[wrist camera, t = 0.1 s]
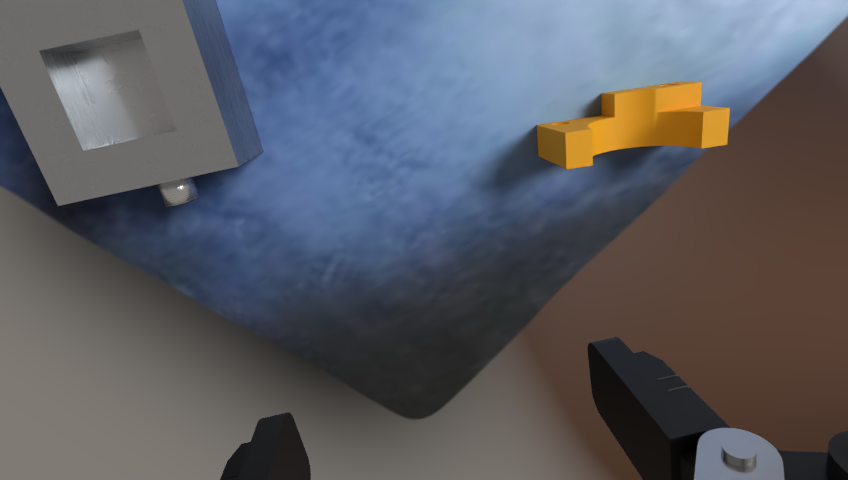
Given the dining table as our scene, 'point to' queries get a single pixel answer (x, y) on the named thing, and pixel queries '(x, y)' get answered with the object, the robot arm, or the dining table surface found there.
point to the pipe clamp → (636, 124)
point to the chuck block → (124, 94)
